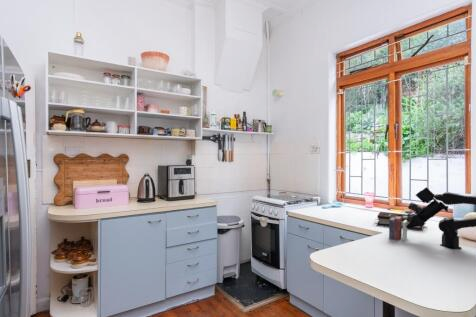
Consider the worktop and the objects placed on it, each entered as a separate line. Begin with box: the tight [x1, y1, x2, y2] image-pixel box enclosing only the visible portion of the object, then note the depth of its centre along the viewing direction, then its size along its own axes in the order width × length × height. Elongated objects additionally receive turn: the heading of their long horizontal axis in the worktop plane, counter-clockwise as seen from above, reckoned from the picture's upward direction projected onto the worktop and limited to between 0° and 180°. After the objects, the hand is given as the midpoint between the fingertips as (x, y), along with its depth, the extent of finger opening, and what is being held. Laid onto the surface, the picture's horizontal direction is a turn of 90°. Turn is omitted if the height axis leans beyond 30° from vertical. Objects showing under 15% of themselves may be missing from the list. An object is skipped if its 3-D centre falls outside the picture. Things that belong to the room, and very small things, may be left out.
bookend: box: [401, 220, 408, 242], centre depth 153 cm, size 1×8×10 cm, turn 142°
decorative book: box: [374, 211, 427, 231], centre depth 188 cm, size 19×8×30 cm
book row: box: [388, 216, 403, 241], centre depth 156 cm, size 5×8×12 cm, turn 142°
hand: (406, 227), depth 152 cm, fingers closed, pressing on bookend
